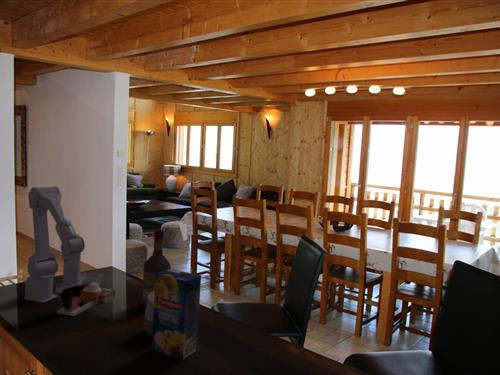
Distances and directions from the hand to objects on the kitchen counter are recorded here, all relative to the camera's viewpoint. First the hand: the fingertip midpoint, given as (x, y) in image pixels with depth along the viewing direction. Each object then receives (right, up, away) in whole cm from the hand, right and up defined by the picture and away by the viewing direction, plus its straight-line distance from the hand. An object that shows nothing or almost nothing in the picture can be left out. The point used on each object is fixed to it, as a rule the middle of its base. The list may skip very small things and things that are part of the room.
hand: (70, 306), depth 157 cm
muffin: (+3, -1, +14) cm, 14 cm away
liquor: (+28, -3, +12) cm, 31 cm away
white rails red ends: (+1, -2, +4) cm, 4 cm away
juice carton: (+42, -7, -24) cm, 49 cm away
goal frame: (+4, -1, +16) cm, 16 cm away
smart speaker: (+35, -6, -12) cm, 37 cm away
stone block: (-6, +1, +32) cm, 32 cm away
